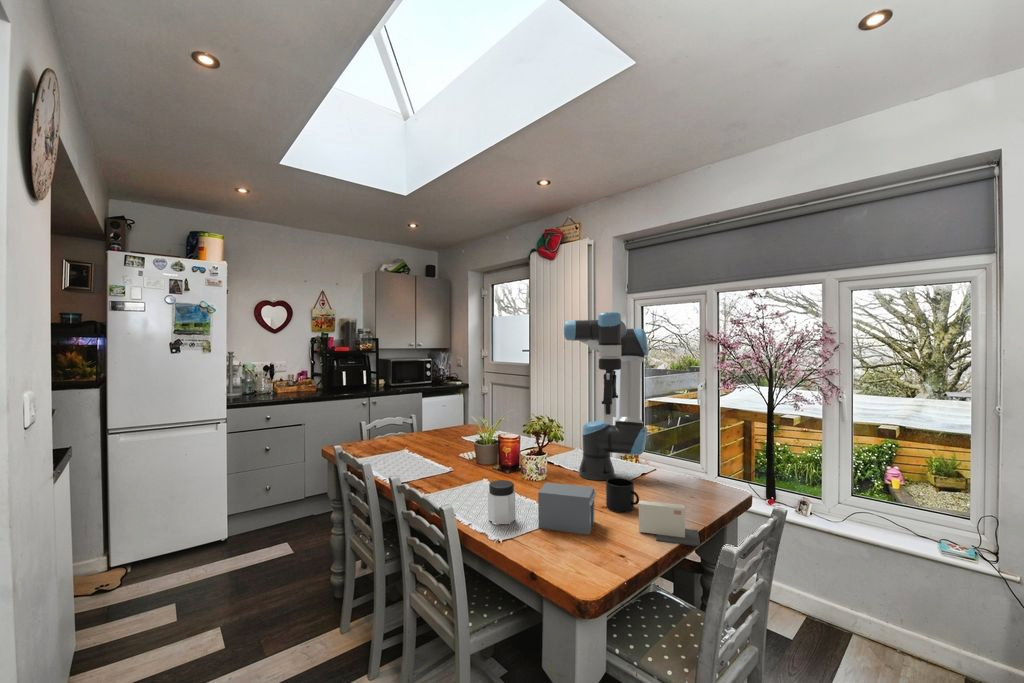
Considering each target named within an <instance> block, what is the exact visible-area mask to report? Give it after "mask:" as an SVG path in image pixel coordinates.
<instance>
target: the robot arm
mask: <svg viewBox="0 0 1024 683" xmlns="http://www.w3.org/2000/svg"><path fill="white" fill-rule="evenodd" d="M597 318H598V319H591V320H590V319H586V320H585V319H584V320H583V319H582V320H581V319H580V320H578V319H577V320H575V319H573V320H567V321H565V323H564V326H563V335H564V338H565V340H566V341H571V342H574V341H575V342H576V341H579V342H581V343H583V344H586V345H587V346H588V347H589V349H591V350H593V351H595V352H597V353H598V357H599V358H598V369H599V370H602V371H605V372H604V374H603V399H602V400H601V405H603V420H595V421H594V420H593V421H588V422H586V423H584V424H583V426H582V459H581V462H580V466H579V468H578V475H579V476H580V477H581V478H583V479H585V480H586V479H587V480H591V481H607V480H608V479H611V478H613V477H614V478H615V469H614V465H613V462H612V460H611V454H612V453H614V454H622V455H630V456H633V455H637V456H639V455H642V454H643V453H644V451H645V448H646V444H647V437H648V428H647V427H646V426H644V421H643V420H641V418H640V417H641V378H642V377H641V374H642V373H641V370H642V369H641V368H642V367H641V366H642V363H643V361H645V358H646V357H645V356H648V355H649V345H648V340H647V334H646V331H645V330H644V329H643V328H627V326H626V324H625V322H624V321H623V320H622V318H621V313H620V312H613V311H607V312H600V313H599V314H598V317H597ZM618 370H620V372H619V373H620V374H619V395H618V394H617V374H616V373H617V371H618ZM618 398H619V406H618V408H619V410H618V417H617V399H618ZM614 418H617V419H616V420H614ZM614 421H615V422H614ZM613 422H614V424H613Z"/></svg>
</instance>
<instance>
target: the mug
mask: <svg viewBox="0 0 1024 683" xmlns="http://www.w3.org/2000/svg"><path fill="white" fill-rule="evenodd" d="M605 488H606V489H605V490H606V492H605V493H606V494H605V501H606V502H605V504H606V505H605V506H606V508H607V509H608V510H610V511H611V512H615V513H631V512H632V511H634V510H635V505H636V506H637V505H639V500H640V496H639V494H638V493H637V492H636V491H635V484H634V481H632V480H631V479H628V478H625V477H614V478H611V479H608V480H605ZM635 498H636V499H635Z"/></svg>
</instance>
